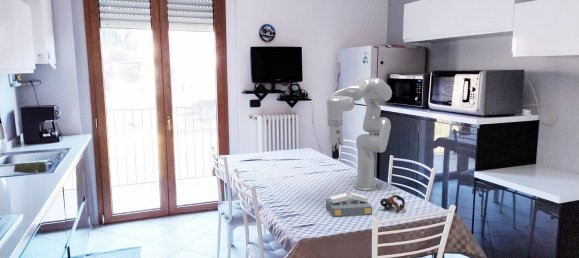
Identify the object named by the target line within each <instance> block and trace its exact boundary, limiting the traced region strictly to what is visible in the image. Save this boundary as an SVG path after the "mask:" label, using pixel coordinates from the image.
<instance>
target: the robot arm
mask: <svg viewBox="0 0 579 258" xmlns="http://www.w3.org/2000/svg"><path fill="white" fill-rule="evenodd" d="M392 95H393V91H392V89H391V86H390V85H389V84H387V82H386V81H384V80H383V79H382V78H381V77H380V78H379V77H363V78H361V79H359V80H358V81H356V82H355V83H354V84H353V85H351V86H348V87H345V88H342V89H339V90H337V91H335V92H333V93H332V94H331V95H330V96H329V97H328V98H327V100H326V108H327V109H326V111H327V116H326V117H327V127H328V142H329V144H330V145H331V153H332V154H331V158H332V159H333V160H335V159H337V160H338V159H340V149H341V148H340V147H342V146H344V135H343V134H344V133H343V123H344V122H343V121H344V120H343V114H344V113H343V112H349V111H352V110H353V109H354V107H355V102H357V101H360V100H361V99H364V103H365V114H364V117H363V118H364V119H363V123H362V130H363V131H364V132H365V133H362V134H359V135H358V136H357V138H356V143H355V144H356V149H357V174H356V175H357V179H356V180H357V183H355V184H354V189H357V190H360V191H364V192H365V191H374V190H376V189H377V185H383V181H381V180H375V156H374V154H373V153H384V152H385V151H386V150H387V146H388V143H389V138H390V134H391V133H390V132H391V129H392V125H391V121H390V119H389V118H388V117H385V116H384V117H383V116H382V117H381V112H382V109H381V107H380V105H379V103H378V102H377V101H379V102H382V101H383V102H387V101H389V100H390V99H391V98H392ZM368 133H369V134H368ZM376 134H377V135H376Z"/></svg>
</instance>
